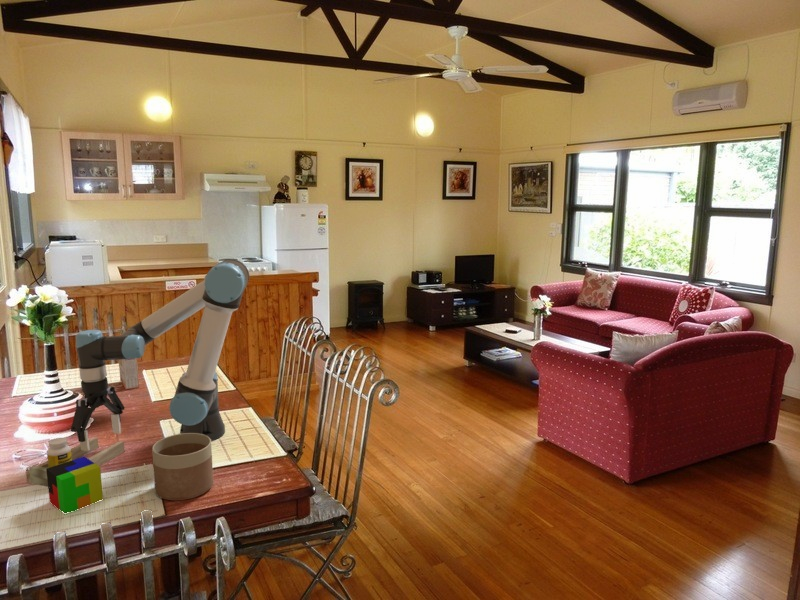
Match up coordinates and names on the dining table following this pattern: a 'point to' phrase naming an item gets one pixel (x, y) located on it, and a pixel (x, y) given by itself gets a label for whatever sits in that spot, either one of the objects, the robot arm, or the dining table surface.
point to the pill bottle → (58, 452)
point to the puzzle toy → (74, 484)
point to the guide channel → (39, 472)
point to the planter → (182, 466)
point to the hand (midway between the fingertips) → (101, 441)
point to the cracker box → (129, 373)
